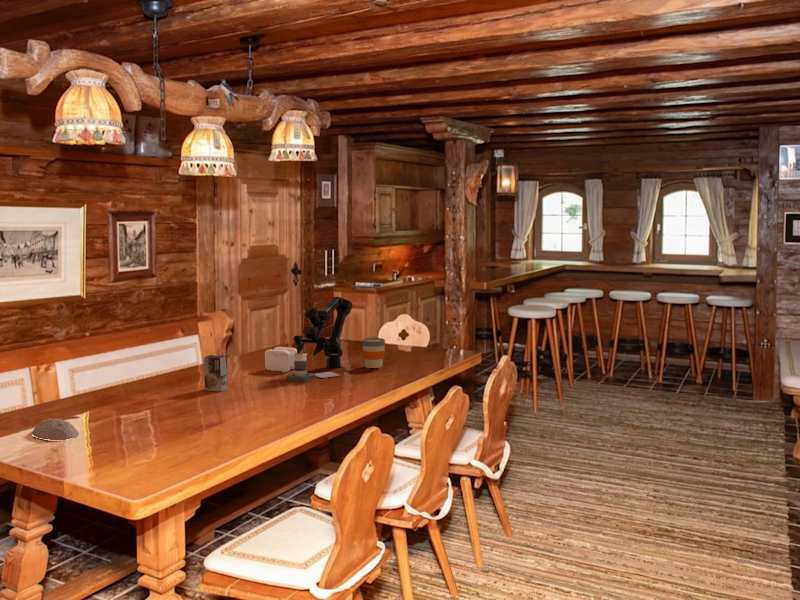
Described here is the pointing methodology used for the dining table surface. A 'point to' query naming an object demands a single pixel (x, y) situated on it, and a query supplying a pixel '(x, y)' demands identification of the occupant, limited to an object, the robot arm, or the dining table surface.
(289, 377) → the reel dock
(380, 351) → the reusable coffee cup
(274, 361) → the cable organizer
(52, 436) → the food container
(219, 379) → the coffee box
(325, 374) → the rubber mat
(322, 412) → the dining table surface
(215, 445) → the dining table surface
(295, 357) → the cable reel
